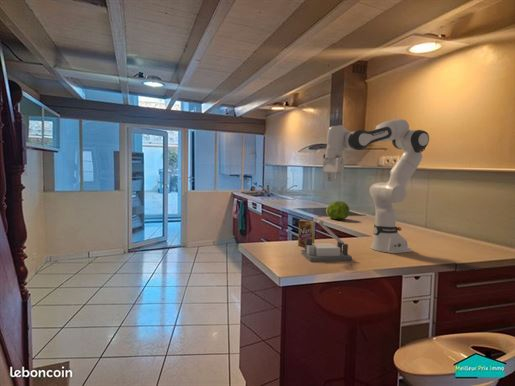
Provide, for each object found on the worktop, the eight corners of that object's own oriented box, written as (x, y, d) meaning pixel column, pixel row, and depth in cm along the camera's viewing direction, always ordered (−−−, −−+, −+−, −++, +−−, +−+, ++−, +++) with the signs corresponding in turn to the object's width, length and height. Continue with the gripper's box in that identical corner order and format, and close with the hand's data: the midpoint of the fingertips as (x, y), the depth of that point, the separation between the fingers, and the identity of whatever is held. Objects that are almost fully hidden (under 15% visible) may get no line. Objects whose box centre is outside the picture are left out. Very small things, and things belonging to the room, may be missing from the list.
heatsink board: (339, 253, 175) (340, 236, 174) (351, 260, 161) (352, 242, 160) (301, 253, 171) (302, 237, 170) (310, 261, 157) (311, 243, 156)
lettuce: (335, 217, 308) (331, 200, 308) (354, 217, 289) (350, 198, 288) (322, 222, 299) (319, 204, 298) (341, 222, 279) (337, 203, 278)
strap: (339, 242, 169) (341, 240, 169) (342, 244, 165) (345, 242, 165) (315, 221, 165) (318, 218, 166) (318, 222, 161) (320, 220, 162)
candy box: (297, 245, 189) (298, 220, 187) (300, 244, 192) (301, 219, 191) (311, 248, 184) (312, 222, 182) (314, 246, 187) (315, 221, 186)
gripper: (348, 155, 160) (346, 182, 161) (332, 156, 180) (330, 180, 181) (336, 154, 159) (334, 181, 160) (321, 155, 179) (320, 180, 180)
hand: (332, 181), depth 171 cm, fingers open, 8 cm apart
